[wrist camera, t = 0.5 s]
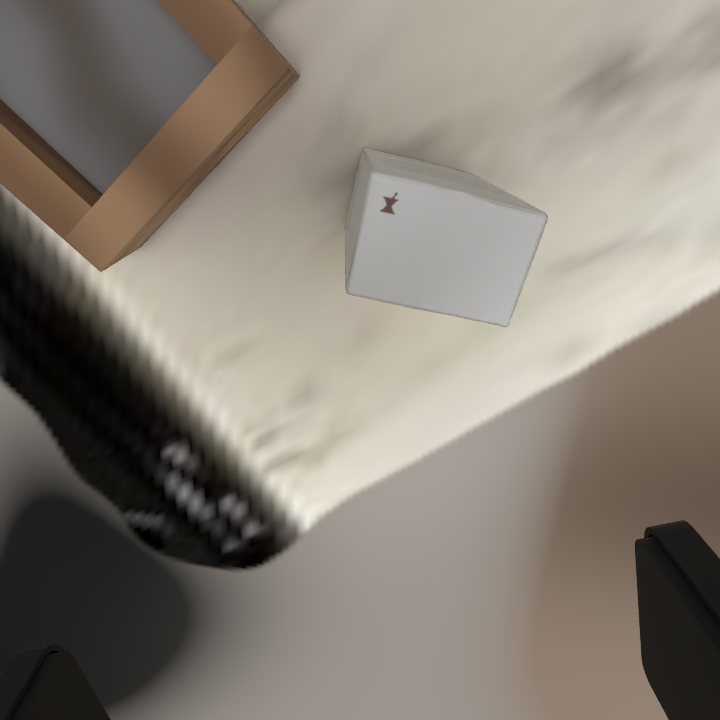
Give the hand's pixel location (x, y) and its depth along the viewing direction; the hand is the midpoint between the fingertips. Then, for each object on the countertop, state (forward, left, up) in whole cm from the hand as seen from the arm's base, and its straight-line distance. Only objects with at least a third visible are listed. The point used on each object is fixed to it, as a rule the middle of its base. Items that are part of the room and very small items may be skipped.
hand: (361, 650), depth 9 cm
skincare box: (-5, -1, -24) cm, 25 cm away
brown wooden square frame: (+1, -15, -24) cm, 28 cm away
